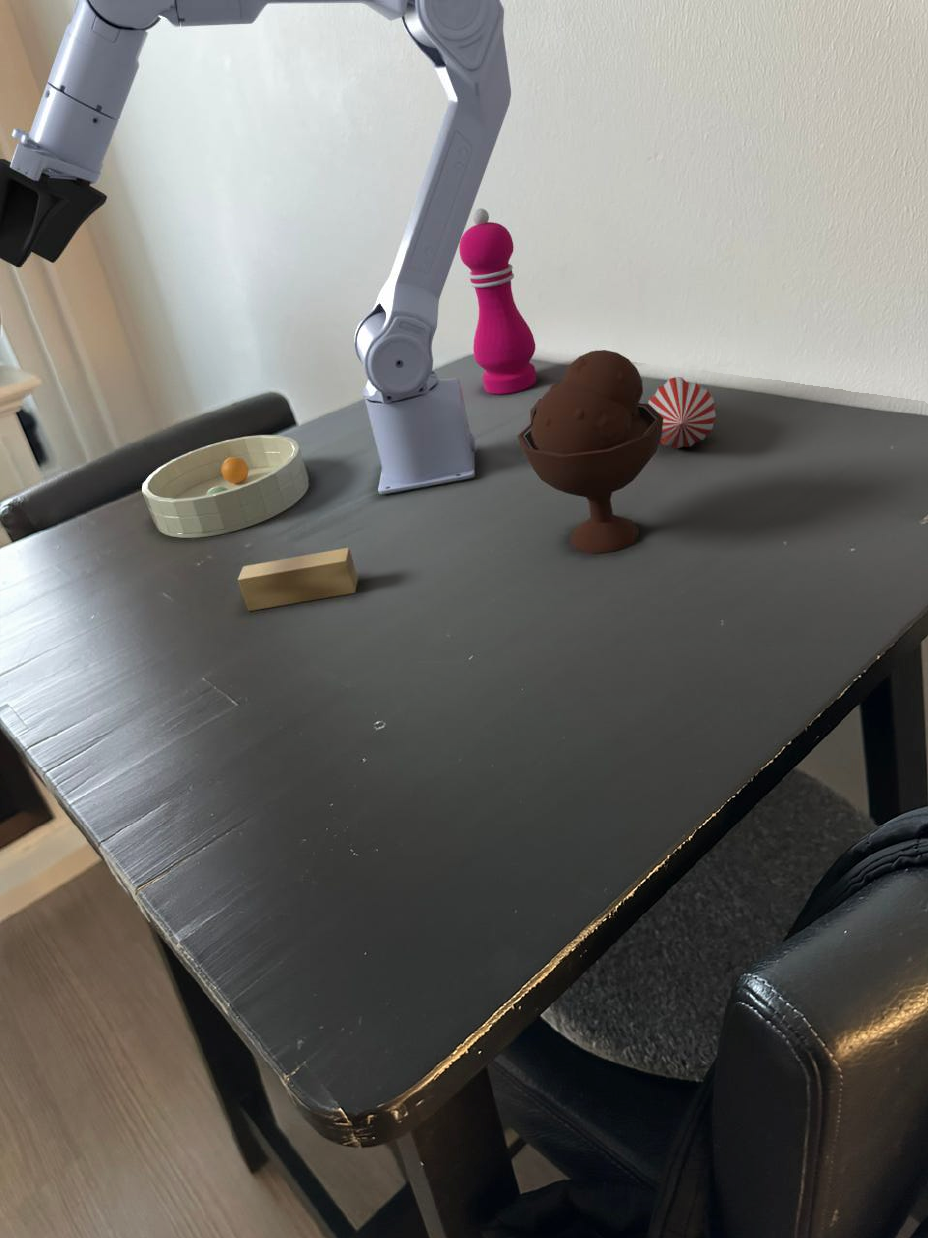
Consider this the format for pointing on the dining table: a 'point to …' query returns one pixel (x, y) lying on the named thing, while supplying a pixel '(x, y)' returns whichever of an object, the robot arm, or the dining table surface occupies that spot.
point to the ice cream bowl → (594, 442)
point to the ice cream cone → (683, 412)
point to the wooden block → (298, 579)
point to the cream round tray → (259, 497)
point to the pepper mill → (497, 309)
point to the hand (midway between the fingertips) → (25, 258)
